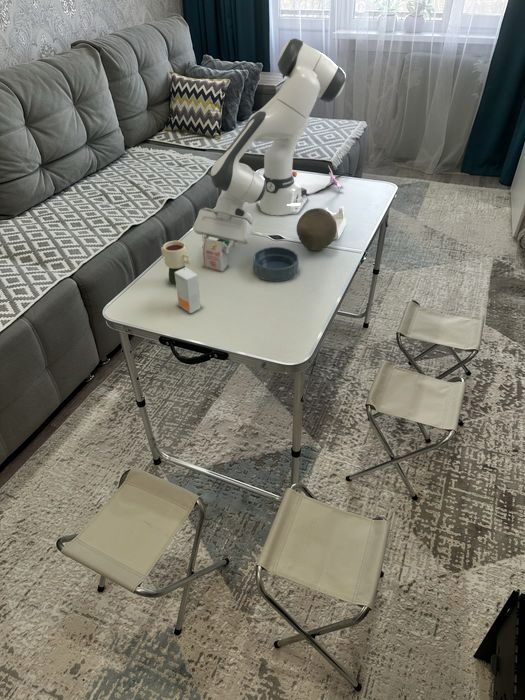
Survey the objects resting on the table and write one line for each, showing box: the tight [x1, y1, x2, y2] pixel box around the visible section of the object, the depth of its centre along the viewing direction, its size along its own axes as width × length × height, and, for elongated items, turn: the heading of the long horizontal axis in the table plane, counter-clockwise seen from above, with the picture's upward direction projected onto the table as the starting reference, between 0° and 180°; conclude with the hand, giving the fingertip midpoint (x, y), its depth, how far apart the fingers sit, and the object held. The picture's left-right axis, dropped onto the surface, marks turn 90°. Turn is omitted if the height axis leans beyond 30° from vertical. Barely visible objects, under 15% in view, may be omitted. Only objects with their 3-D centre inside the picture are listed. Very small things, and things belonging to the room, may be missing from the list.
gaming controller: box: [216, 238, 230, 247], centre depth 182 cm, size 9×4×6 cm
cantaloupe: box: [296, 207, 337, 252], centre depth 178 cm, size 14×14×15 cm
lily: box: [323, 166, 342, 193], centre depth 222 cm, size 12×12×10 cm
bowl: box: [252, 246, 300, 282], centre depth 170 cm, size 15×15×5 cm
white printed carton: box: [202, 238, 228, 272], centre depth 170 cm, size 4×7×10 cm, turn 63°
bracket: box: [323, 205, 347, 240], centre depth 191 cm, size 13×7×8 cm, turn 160°
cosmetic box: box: [175, 267, 202, 314], centre depth 151 cm, size 6×4×12 cm
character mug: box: [160, 240, 191, 286], centre depth 162 cm, size 11×7×13 cm, turn 60°
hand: (215, 250), depth 170 cm, fingers closed on white printed carton, 7 cm apart
